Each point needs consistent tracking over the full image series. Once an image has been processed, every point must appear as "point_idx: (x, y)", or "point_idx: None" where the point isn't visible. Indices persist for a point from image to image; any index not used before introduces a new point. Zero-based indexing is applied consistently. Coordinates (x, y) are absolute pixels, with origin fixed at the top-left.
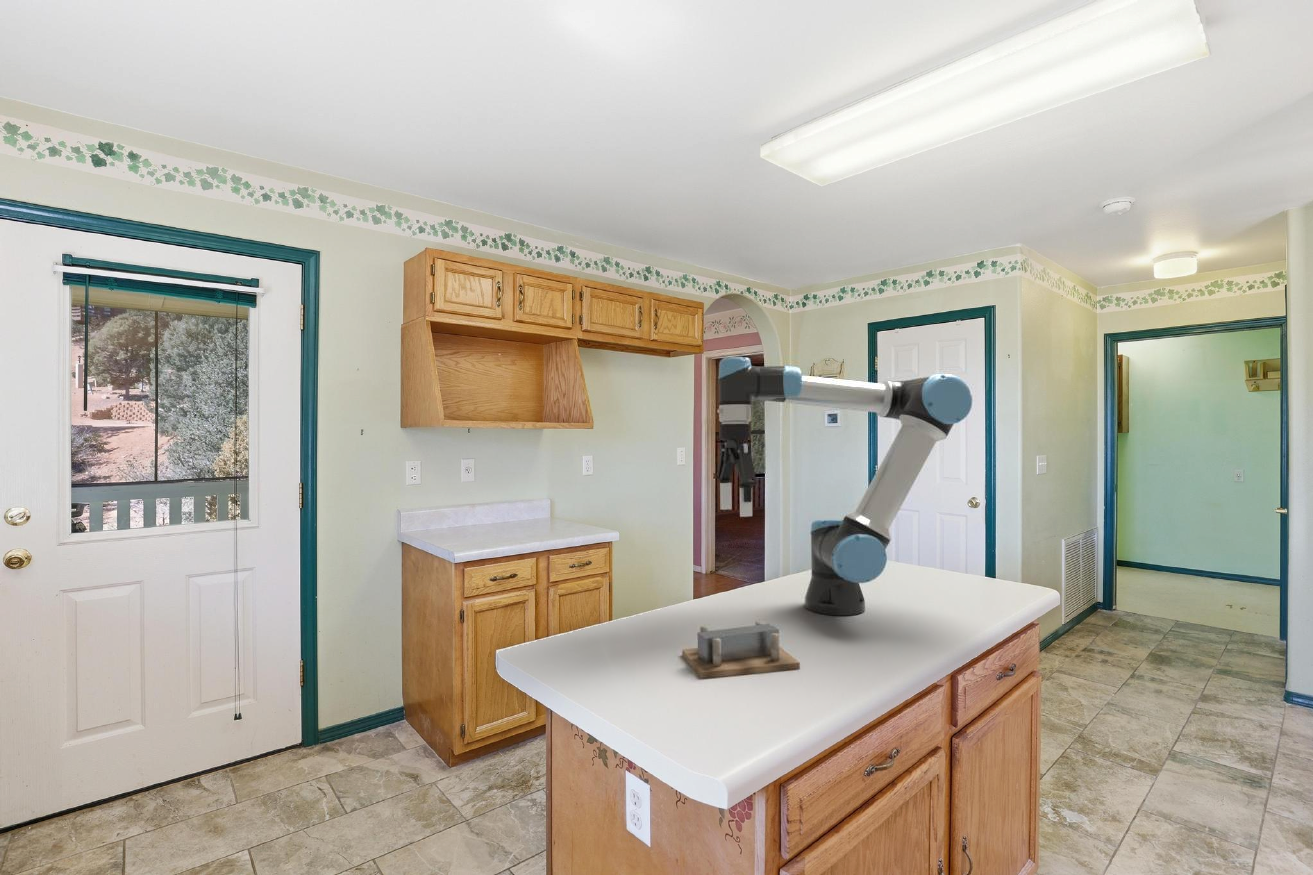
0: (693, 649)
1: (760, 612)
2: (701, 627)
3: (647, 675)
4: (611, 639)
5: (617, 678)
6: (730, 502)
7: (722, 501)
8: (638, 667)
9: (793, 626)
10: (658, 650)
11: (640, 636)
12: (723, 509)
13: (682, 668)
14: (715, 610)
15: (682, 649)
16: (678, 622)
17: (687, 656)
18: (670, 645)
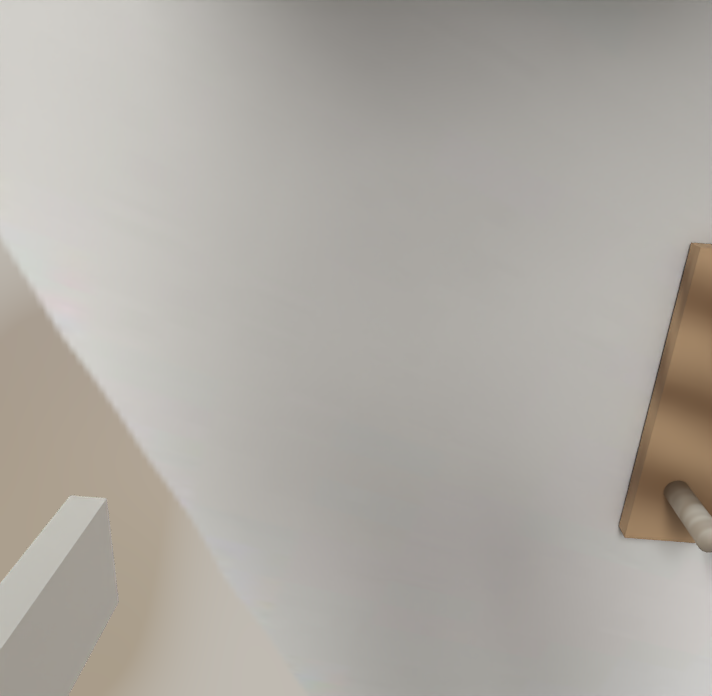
0: (640, 510)
1: (250, 70)
2: (708, 548)
3: (704, 632)
4: (398, 640)
5: (685, 688)
6: (67, 568)
7: (73, 669)
8: (641, 636)
9: (495, 22)
10: (541, 563)
11: (400, 571)
12: (114, 582)
13: None
14: (175, 253)
15: (626, 537)
16: (295, 433)
17: (683, 541)
18: (514, 524)
